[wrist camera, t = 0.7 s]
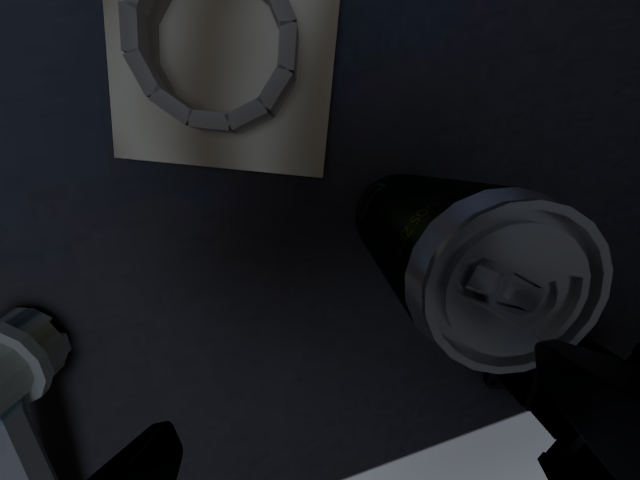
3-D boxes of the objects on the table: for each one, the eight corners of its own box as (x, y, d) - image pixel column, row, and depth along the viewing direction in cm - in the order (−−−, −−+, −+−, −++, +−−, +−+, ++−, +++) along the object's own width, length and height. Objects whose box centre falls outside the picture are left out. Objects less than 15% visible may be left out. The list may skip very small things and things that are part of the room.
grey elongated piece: (9, 619, 23) (-172, 384, 13) (74, 513, 29) (-19, 300, 20) (78, 620, 23) (-52, 388, 14) (128, 514, 29) (62, 304, 20)
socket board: (344, -54, 16) (352, -108, 12) (322, 177, 19) (323, 179, 15) (111, -85, 15) (59, -149, 12) (127, 157, 18) (88, 156, 15)
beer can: (341, 238, 20) (381, 346, 8) (374, 160, 18) (478, 154, 7) (413, 265, 20) (549, 403, 9) (450, 191, 19) (665, 236, 7)
